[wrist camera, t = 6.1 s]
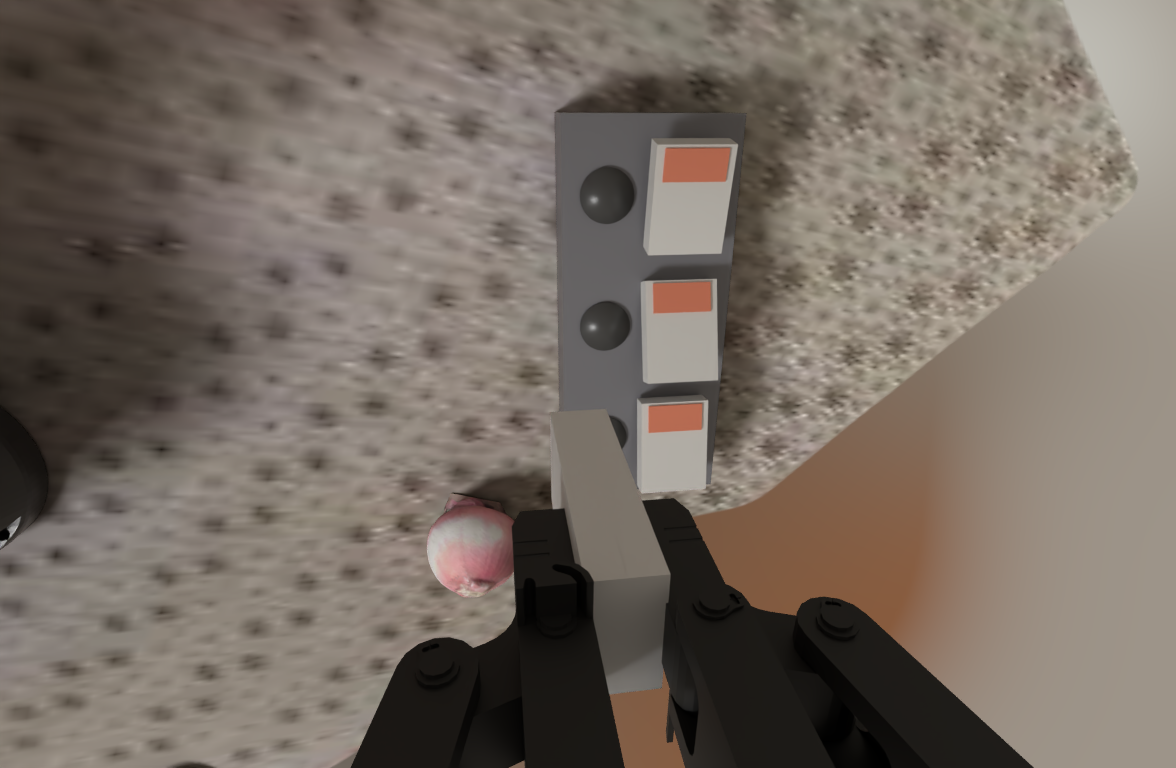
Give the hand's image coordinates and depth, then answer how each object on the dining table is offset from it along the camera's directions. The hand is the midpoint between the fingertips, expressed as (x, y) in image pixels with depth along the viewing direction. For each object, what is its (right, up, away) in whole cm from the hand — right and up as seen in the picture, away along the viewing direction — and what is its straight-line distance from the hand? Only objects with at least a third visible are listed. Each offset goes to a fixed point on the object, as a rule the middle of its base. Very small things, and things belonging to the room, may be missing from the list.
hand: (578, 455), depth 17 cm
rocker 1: (+7, +14, +24) cm, 28 cm away
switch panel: (+4, +8, +32) cm, 33 cm away
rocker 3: (+7, -3, +31) cm, 32 cm away
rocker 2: (+7, +6, +27) cm, 29 cm away
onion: (-10, -10, +38) cm, 41 cm away
